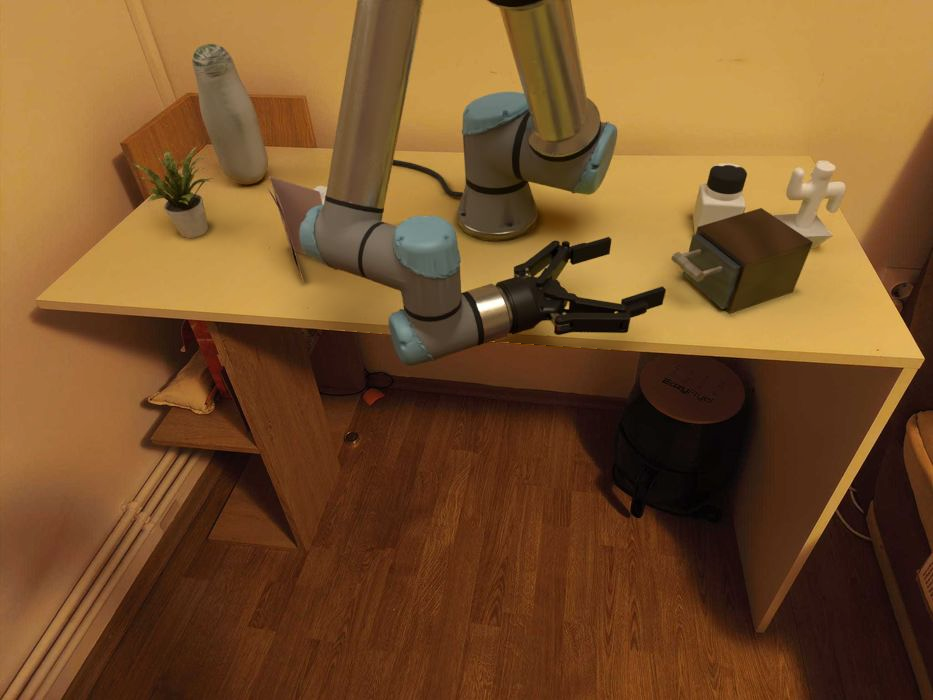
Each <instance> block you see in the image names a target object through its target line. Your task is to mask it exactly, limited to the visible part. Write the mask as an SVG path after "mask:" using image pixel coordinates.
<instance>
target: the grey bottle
mask: <svg viewBox="0 0 933 700" xmlns="http://www.w3.org/2000/svg"><path fill="white" fill-rule="evenodd" d="M192 69H193V71H194V75H195V80H196V84H197V86H196V87H197V91H198V104H199V109H200V114H201V118H202V121H203V124H204V127H205V129H206V132H207V135H208V137H209V140H210V142H211V145H212V148H213V151H214V153H215V156H216V159H217V161H218V164H219V166H220V168H221V170H222V171H223V173H224V174H225V175H226V177H228V178H229V179H230V180H231V181H232V182H234V183H237V184H240V185H253V184H256V183H259V182H260V181H261V180H262V179H263V178H264V177H265V175H266V174H267V170H268V167H269V158H268V152H267V149H266V145H265V142H264V138H263V135H262V131H261V126H260V123H259V119H258V115H257V112H256V108H255V106H254V103H253V101H252V99H251V97H250V95H249V92H248V91H247V89H246V87H245V85H244V83H243V81H242V80H241V77H240V75H239V73H238V70H237V68H236V64H235V62H234V60H233V58H232V56H231V54H230V52H229V51H228V50H227V49H226V48H224V47H223V46H222V45H219V44H215V43H208V44H203V45H201V46H198V47H197V48H196V49H195V50H194V52H193V54H192Z"/></svg>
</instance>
